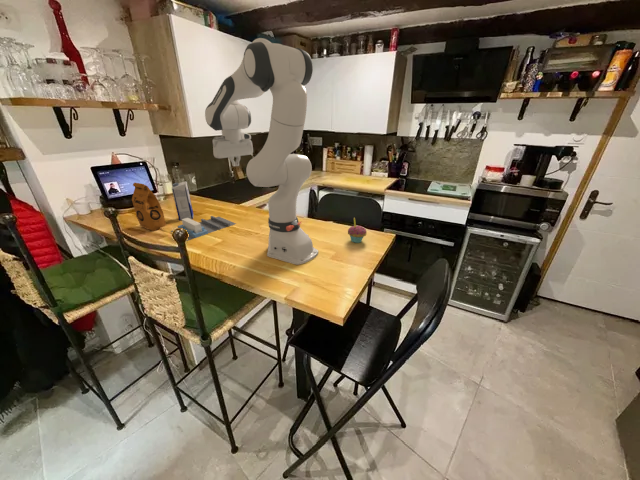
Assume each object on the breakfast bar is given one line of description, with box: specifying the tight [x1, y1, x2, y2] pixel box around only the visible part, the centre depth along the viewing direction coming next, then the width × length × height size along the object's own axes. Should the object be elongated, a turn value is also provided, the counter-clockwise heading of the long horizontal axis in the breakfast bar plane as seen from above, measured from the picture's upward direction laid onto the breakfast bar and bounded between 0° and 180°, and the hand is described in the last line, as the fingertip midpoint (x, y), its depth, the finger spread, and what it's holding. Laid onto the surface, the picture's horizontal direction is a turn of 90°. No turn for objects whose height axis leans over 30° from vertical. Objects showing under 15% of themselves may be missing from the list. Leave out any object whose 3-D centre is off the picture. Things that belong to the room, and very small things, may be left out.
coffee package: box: [131, 182, 167, 232], centre depth 127 cm, size 10×12×22 cm
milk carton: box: [171, 181, 194, 221], centre depth 137 cm, size 7×7×20 cm
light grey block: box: [181, 218, 202, 234], centre depth 124 cm, size 12×3×5 cm, turn 52°
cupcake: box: [347, 217, 367, 244], centre depth 118 cm, size 9×8×12 cm
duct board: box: [170, 215, 237, 242], centre depth 129 cm, size 16×26×3 cm, turn 142°
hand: (235, 165), depth 128 cm, fingers closed
